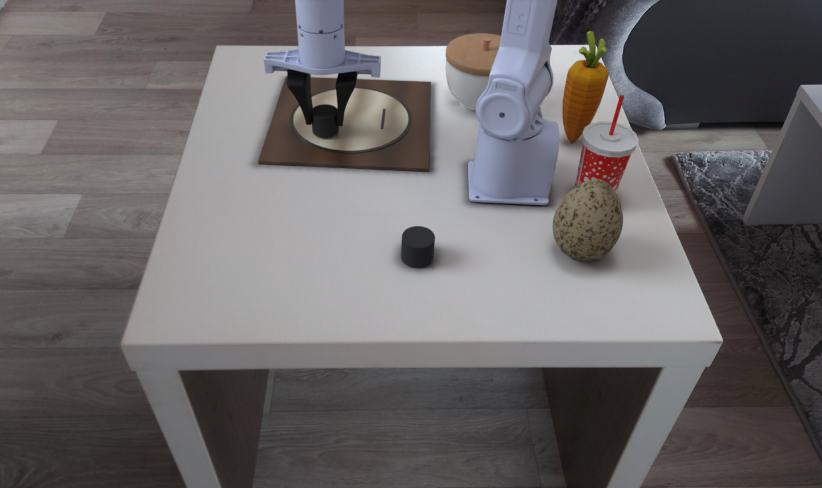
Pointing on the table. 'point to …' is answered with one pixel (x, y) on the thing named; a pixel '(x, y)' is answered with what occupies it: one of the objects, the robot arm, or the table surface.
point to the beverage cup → (606, 150)
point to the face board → (355, 127)
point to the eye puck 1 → (324, 121)
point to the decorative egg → (588, 221)
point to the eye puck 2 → (417, 246)
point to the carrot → (584, 89)
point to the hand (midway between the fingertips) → (325, 121)
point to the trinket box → (470, 66)
